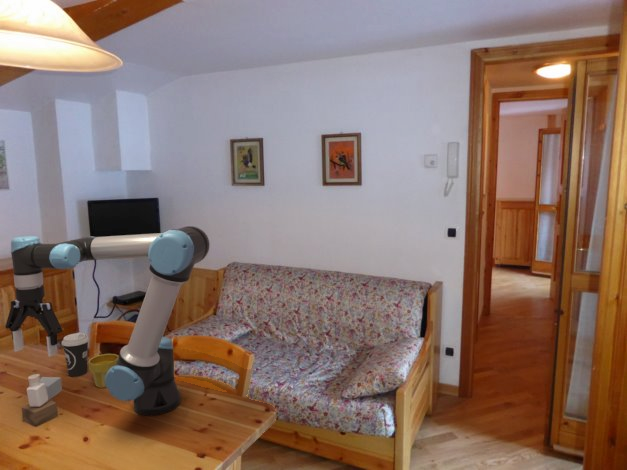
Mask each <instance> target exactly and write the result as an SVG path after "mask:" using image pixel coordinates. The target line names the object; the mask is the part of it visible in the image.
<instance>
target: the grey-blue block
mask: <svg viewBox="0 0 627 470" xmlns="http://www.w3.org/2000/svg"><path fill="white" fill-rule="evenodd" d="M40 379H41V383H44V384H45V385H46V390H47V396H48V399H49V400H52V399H53V398H54V397H55V396H57V395H58V394H59V393H60V392H62V391H63V387H62V386H63V385H62V377H61V376H60V377H55V376H54V377H53V376H42V377H40Z"/></svg>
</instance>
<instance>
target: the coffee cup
mask: <svg viewBox="0 0 627 470" xmlns="http://www.w3.org/2000/svg"><path fill="white" fill-rule="evenodd" d="M89 341H90V339H89V336H88V335H87V333H83V332H76V333H70V334H68V335H65V336H64V337H63V340H61V345H62V347H63V352H64V357H65V362H66V368H67V373H68V377H69V378H70V377H71V378H77V377H78V378H79V377H81V376H84V375H86V374H87V373H88V355H89V354H88V349H89V348H88V347H89Z"/></svg>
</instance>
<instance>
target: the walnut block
mask: <svg viewBox="0 0 627 470" xmlns="http://www.w3.org/2000/svg"><path fill="white" fill-rule="evenodd" d="M21 412H22V413H21V414H22V422H23V423H25V424H28V425H30V426H32V427H35V428H37V427H39V426H41V425H43V424H45V423H47V422H50V421H52V420H53V419H57V418H58V417H59V416H58V415H59V414H58V403H57V402H56V401H55V400H54V401H53V400H52V399H50V400H49V399H48V401H47V402H46V403H45V404H43V405H42V406H40V407H31V406H30V405H29V403H28V404H26V405H24V406H21Z"/></svg>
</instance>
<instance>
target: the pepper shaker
mask: <svg viewBox="0 0 627 470" xmlns="http://www.w3.org/2000/svg"><path fill="white" fill-rule="evenodd" d="M27 378H28V384H29V385H28V387H27V388H26V393H27V394H26V395H27V400H28V404H29V405H30V406H31V407H40V406H42V405H43V404H45V403H46V402H47V401H48V396H47V390H46V385H45V384H44V383H41V379H40V378H41V375H40V373H36V374H31V375H29V376H28V377H27Z"/></svg>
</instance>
